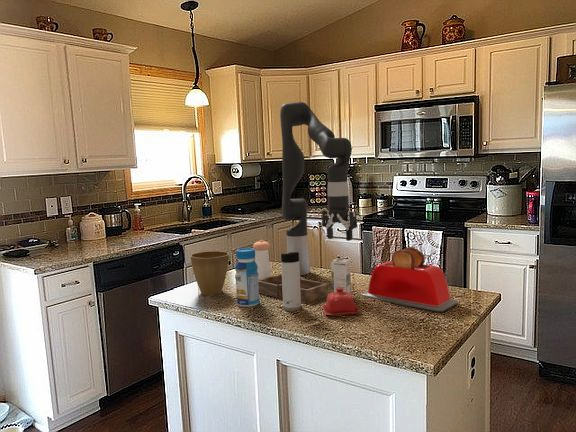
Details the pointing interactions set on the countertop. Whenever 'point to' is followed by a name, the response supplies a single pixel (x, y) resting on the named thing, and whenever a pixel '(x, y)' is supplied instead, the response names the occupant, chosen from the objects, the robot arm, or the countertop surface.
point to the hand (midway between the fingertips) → (339, 239)
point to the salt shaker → (262, 259)
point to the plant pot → (210, 271)
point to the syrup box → (341, 275)
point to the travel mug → (291, 281)
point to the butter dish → (340, 303)
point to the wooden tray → (307, 287)
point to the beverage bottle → (246, 278)
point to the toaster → (410, 282)
